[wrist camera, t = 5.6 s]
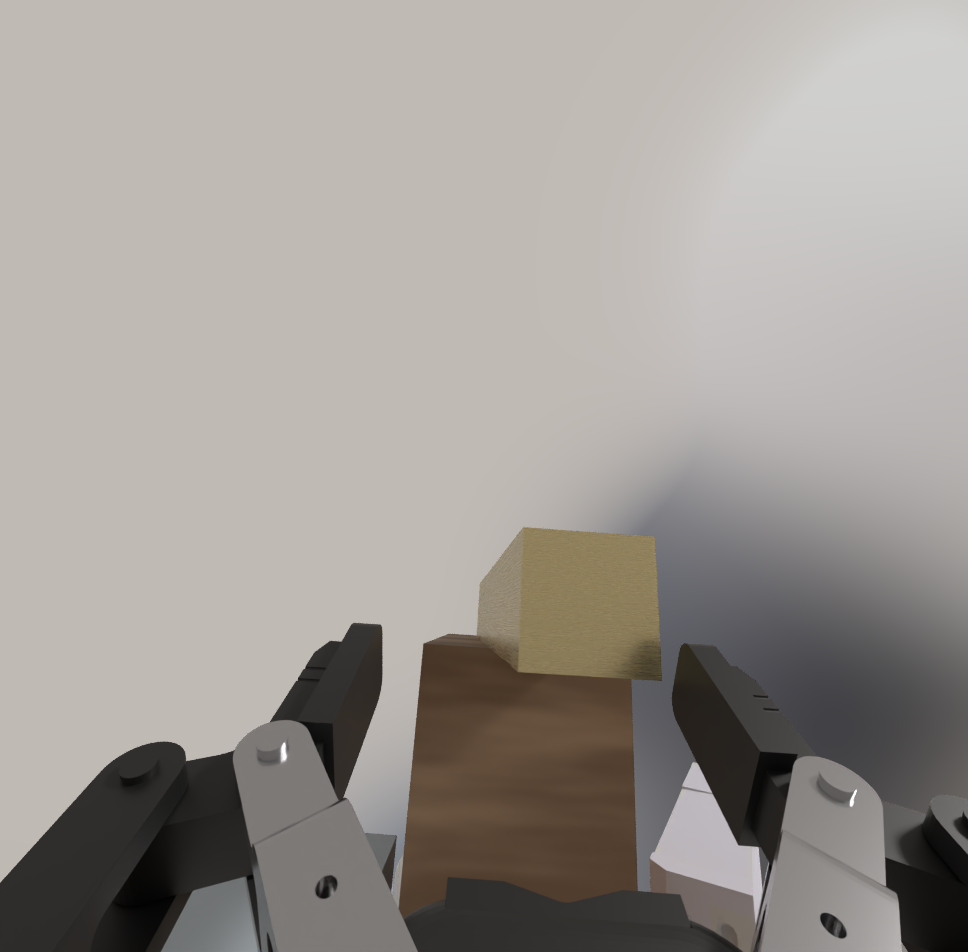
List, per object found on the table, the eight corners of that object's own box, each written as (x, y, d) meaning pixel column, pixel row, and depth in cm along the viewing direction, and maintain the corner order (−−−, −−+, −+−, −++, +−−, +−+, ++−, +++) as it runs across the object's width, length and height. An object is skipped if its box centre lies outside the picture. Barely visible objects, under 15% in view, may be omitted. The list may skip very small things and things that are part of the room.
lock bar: (476, 636, 35) (480, 583, 37) (528, 639, 36) (529, 586, 37) (517, 671, 13) (523, 527, 14) (661, 680, 13) (654, 537, 14)
